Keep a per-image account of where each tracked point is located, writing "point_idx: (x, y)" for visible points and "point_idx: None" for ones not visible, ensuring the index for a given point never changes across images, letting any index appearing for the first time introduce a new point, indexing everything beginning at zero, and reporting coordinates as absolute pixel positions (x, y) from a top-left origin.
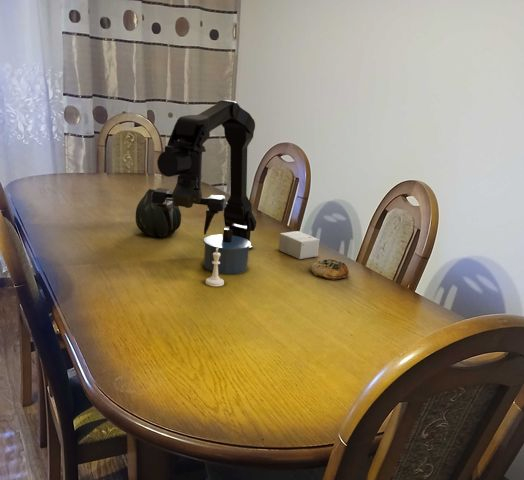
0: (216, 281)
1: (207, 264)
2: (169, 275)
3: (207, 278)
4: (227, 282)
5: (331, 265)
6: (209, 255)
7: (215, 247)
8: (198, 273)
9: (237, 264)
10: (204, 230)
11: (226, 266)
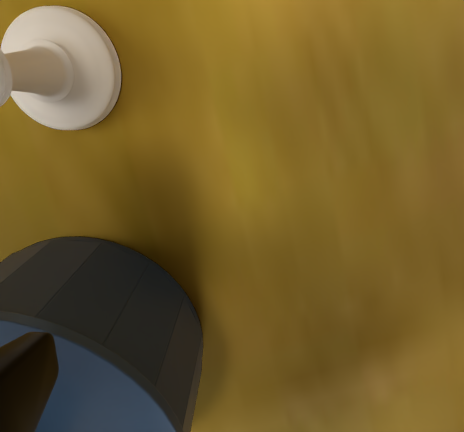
0: (28, 28)
1: (162, 288)
2: (359, 103)
3: (104, 77)
4: (3, 112)
5: None
6: (132, 314)
7: (45, 326)
8: (199, 199)
9: None
10: (5, 364)
11: (30, 256)
